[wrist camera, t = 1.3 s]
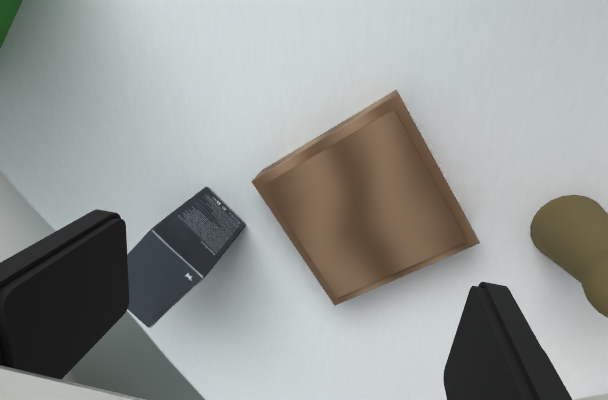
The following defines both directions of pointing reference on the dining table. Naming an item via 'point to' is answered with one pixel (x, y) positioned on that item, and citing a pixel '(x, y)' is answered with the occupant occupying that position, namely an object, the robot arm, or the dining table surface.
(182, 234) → the box
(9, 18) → the hardback book
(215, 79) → the dining table surface
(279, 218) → the walnut plinth
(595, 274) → the cork
